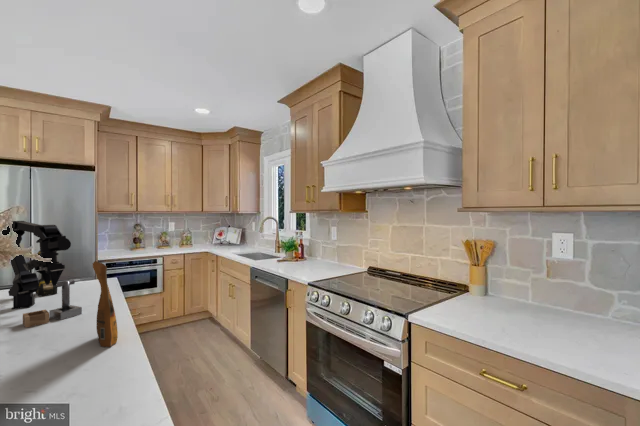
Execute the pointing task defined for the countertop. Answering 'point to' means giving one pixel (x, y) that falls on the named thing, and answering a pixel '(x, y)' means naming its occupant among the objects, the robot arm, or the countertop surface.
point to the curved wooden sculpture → (105, 310)
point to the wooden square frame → (35, 318)
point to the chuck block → (65, 312)
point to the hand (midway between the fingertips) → (50, 285)
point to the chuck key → (65, 293)
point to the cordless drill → (45, 287)
